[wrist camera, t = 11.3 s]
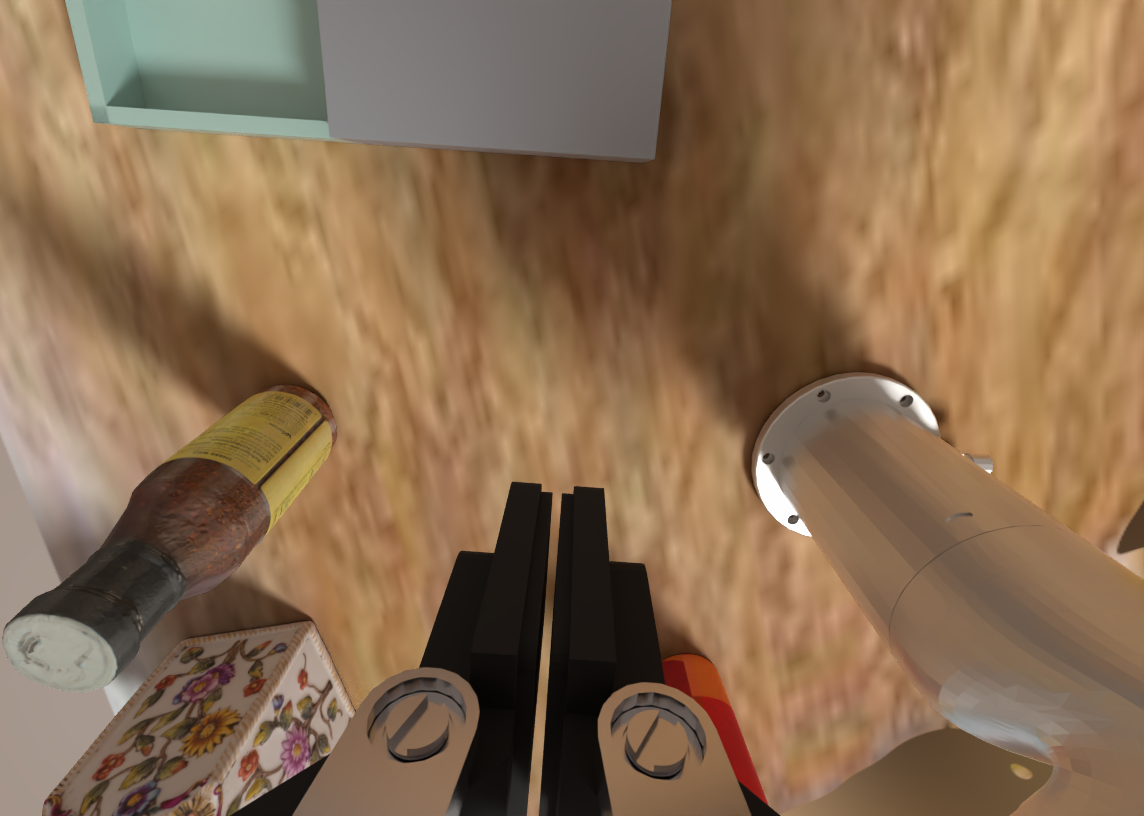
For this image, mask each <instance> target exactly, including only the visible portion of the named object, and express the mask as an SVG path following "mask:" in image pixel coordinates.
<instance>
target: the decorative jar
mask: <svg viewBox="0 0 1144 816" xmlns="http://www.w3.org/2000/svg"><path fill="white" fill-rule="evenodd" d="M354 714H355V710H354V708H353V705H352V704H351V701H350V699H349V697H348V694H347V692H346V691H345V688H344V686H343V684H342V682H341V679H340V677H339V675H338V673H337V671H336V669H335V666H334V664H333V662H332V659H331V657H330V655H329V653H328V651H327V649H326V647H325V645H324V643H323V641H322V639H321V637H320V635H319V633H318V631H317V628H316V626H315V625H314V623H313V622H312V621H304V622H296V623H291V624H284V625H276V626H271V627H263V628H258V629H250V630H243V631H236V632H230V633H223V634H216V635H210V636H203V637H196V638H189V639H185V640H183V641H181V642H180V643H179V644H178V645H177V646H176V647H175V648H174V649H173V650H172V651H171V652H170V653H169V654H168V656H167V657H166V658H165V659H164V660H163V661H162V663H161V664H160V665H159V666H158V667H157V668H156V669H155V670H154V672H153V673H152V674H151V675H150V676H149V677H148V679H147V680H146V681H145V682H144V683H143V684H142V685H141V686H140V688H139V689H138V690H137V691H136V692H135V694H134V695H133V696H132V697H131V698H130V700H129V701H128V702H127V703H126V704H125V706H123V708H122V709H121V710H120V711H119V712H118V714H117V715H116V716H115V717H114V718H113V720H112V721H111V722H110V723H109V724H108V726H107V727H106V728H105V729H104V731H103V732H102V733H101V734H100V735H99V737H98V738H97V739H96V740H95V741H94V743H93V744H92V745H91V746H90V748H89V749H88V750H87V751H86V752H85V753H84V755H83V756H82V757H81V758H80V759H79V760H78V762H77V763H76V764H75V766H74V767H73V768H72V769H71V770H70V771H69V773H68V774H67V775H66V776H65V777H64V778H63V780H62V781H61V782H60V783H59V785H58V786H57V787H56V788H55V789H54V790H53V792H51V794H50V795H49V796H48V798H47V799H46V800H45V802H44V805H43V810H42V816H230V815H231V814H233V813H235V812H236V811H238V810H239V809H241V808H243V807H244V806H246V805H247V804H249V803H251V802H252V801H254V800H256V799H257V798H259V797H260V796H262V795H264V794H265V793H267V792H269V791H270V790H272V789H273V788H275V787H277V786H278V785H280V784H281V783H283V782H285V781H286V780H288V779H290V778H291V777H293V776H294V775H296V774H298V773H299V772H301V771H303V770H304V769H306V768H307V767H309V766H311V765H312V764H314V763H315V762H317V761H319V760H320V759H322V758H324V757H325V756H327V755H328V754H330V753H331V752H332V750H333V748H334V747H335V745H336V743H337V742H338V740H339V739H340V737H341V735H342V734H343V732H344V730H345V729H346V727H347V726H348V724H349V722H350V721H351V719H352V717H353V716H354Z"/></svg>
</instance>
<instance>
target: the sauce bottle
mask: <svg viewBox="0 0 1144 816" xmlns="http://www.w3.org/2000/svg"><path fill="white" fill-rule="evenodd" d="M336 429H337V427H336V424H335V420H334V417H333V415H332V412H331V410H330V407H329V406H328V405H327V404H326V403H325V401H323V400H322V399H321V398H320V397H318V396H317V395H316V394H314V393H311V392H310V391H309V390H307V389H305V388H301V387H299V386H295V385H278V386H273V387H269V388H266V389H263V390H262V391H260V392H259V393H257V394H255V395H253V396H251V397H250V398H248V399H247V400H245V401H244V402H243V403H241V404H240V405H239V406H237V407H236V408H235V409H233V410H232V411H231V412H229V413H228V414H227V415H225V416H224V417H223V418H221V419H220V420H219V421H218V422H216V423H215V424H214V425H213V426H211V427H210V428H209V429H207V430H206V431H205V432H203V433H202V434H201V435H199V436H198V437H197V438H195V439H194V440H193V441H191V442H190V443H189V444H187V445H186V446H185V447H183V448H182V449H181V450H179V451H178V452H177V453H175V454H174V455H173V456H172V457H170V458H169V459H168V460H166V461H165V462H164V463H162V464H161V465H160V466H159V467H157V468H156V469H155V470H154V471H152V472H151V473H150V474H149V475H148V476H147V477H146V478H145V479H144V480H143V481H142V482H141V483H140V484H139V485H138V486H137V487H136V488H135V489H134V491H133V492H132V496H131V498H130V501H129V504H128V506H127V508H126V510H125V511H124V513H123V515H122V516H121V518H120V519H119V521H118V522H117V524H116V525H115V527H114V528H113V530H112V532H111V533H110V535H109V536H108V538H107V539H106V541H105V542H104V544H103V545H102V547H101V548H100V549H99V550H98V551H96V552H95V553H94V554H93V555H91V556H90V557H89V559H88V561H87V563H86V564H84V565H83V566H82V567H81V568H79V569H78V570H77V571H76V572H74V573H73V574H72V575H71V576H70V577H69V578H67V579H66V580H65V581H64V582H62V583H61V584H60V585H59V586H58V587H56V588H55V589H54V590H51V591H49V592H46V593H44V594H41V595H39V596H37V597H36V598H34V599H33V600H32V601H31V602H30V603H29V604H28V605H27V606H26V607H24V608H23V609H22V610H21V611H20V612H19V613H18V614H17V615H16V616H15V617H14V618H13V619H12V620H11V621H10V622H9V623H7V624H6V626H5V628H4V632H3V637H2V640H3V646H4V649H5V652H6V655H7V658H8V659H9V660H10V662H11V663H12V665H13V667H14V668H15V669H16V670H17V671H18V672H19V673H21V674H22V675H24V676H25V677H27V678H28V679H30V680H32V681H34V682H37V683H39V684H42V685H44V686H47V687H50V688H53V689H57V690H62V691H69V692H79V693H83V692H88V691H95V690H97V689H100V688H102V687H104V686H106V685H108V684H109V683H110V682H111V681H113V680H114V679H115V678H116V676H117V675H118V674H119V673H120V672H122V671H123V669H124V668H125V667H126V666H127V665H128V664H129V663H130V661H131V660H132V659H133V658H134V657H135V656H136V654H137V652H138V650H139V647H140V642H141V641H142V640H143V639H144V638H145V636H146V635H147V634H148V633H149V632H150V631H151V630H152V629H153V627H154V626H155V625H156V624H157V623H158V622H159V621H160V620H161V618H162V617H163V616H164V615H165V614H166V613H168V612H169V611H170V610H172V609H173V608H174V607H175V606H176V605H177V603H178V601H180V600H183V599H187V598H190V597H193V596H197V595H200V594H203V593H206V592H208V591H210V590H211V589H213V588H215V587H216V586H218V585H219V584H220V583H221V582H222V581H224V580H225V579H226V578H227V577H228V576H230V575H231V574H232V573H233V572H234V571H235V570H236V569H237V568H238V567H240V565H241V563H242V562H243V561H244V560H245V558H246V557H247V555H249V553H250V552H251V551H252V549H253V548H254V547H255V546H256V545H257V544H259V543H260V542H261V541H262V540H263V539H264V537H265V536H266V535H267V533H268V532H269V531H270V530H271V528H272V527H273V526H274V525H275V523H276V522H277V521H278V519H279V518H280V517H281V516H282V514H283V513H284V512H285V511H286V510H287V508H288V507H289V506H290V505H291V503H292V502H293V501H294V499H295V498H296V497H297V496H298V494H299V493H300V492H301V491H302V489H303V488H304V487H305V486H306V484H307V483H308V482H309V480H310V479H311V478H312V477H313V475H314V474H315V473H316V472H317V471H318V469H319V468H320V467H321V465H322V464H323V463H324V462H325V460H326V459H327V457H328V455H329V453H330V450H331V448H332V447H333V445H334V444H335V441H336V438H337V431H336Z"/></svg>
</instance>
